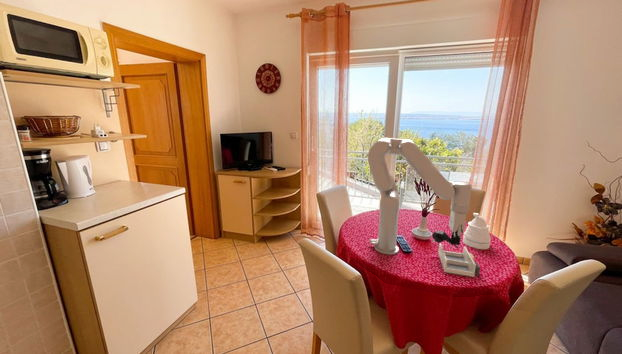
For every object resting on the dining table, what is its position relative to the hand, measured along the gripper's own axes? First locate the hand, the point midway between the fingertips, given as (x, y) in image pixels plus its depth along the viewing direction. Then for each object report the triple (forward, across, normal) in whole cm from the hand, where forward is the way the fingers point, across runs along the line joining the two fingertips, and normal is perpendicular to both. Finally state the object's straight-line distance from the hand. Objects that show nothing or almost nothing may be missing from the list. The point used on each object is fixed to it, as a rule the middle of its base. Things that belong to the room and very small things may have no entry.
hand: (455, 242), depth 122 cm
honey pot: (+10, -24, +16) cm, 30 cm away
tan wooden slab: (+9, 0, +8) cm, 12 cm away
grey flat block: (+9, +9, +8) cm, 15 cm away
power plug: (+5, -1, 0) cm, 5 cm away
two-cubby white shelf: (+9, +4, 0) cm, 10 cm away
